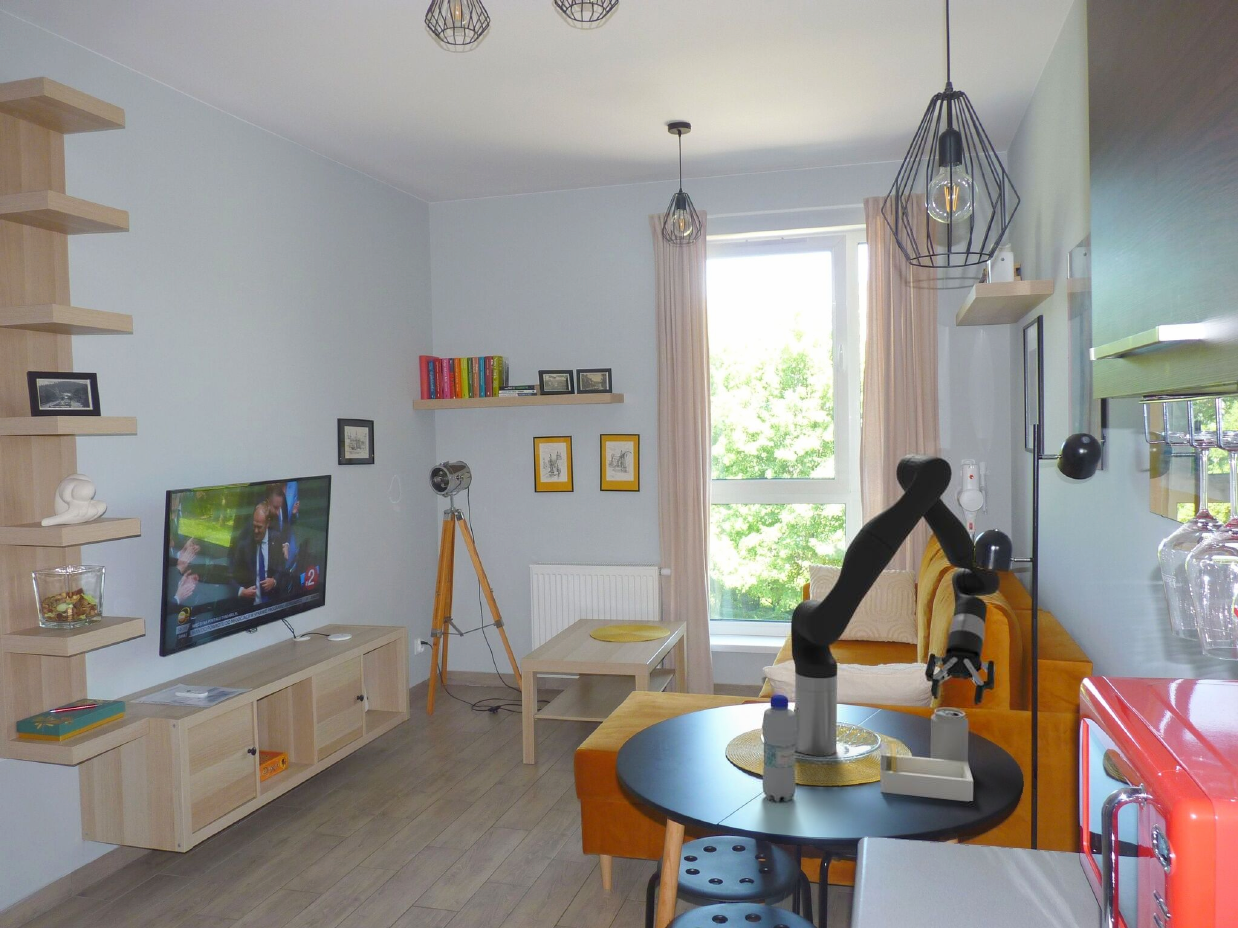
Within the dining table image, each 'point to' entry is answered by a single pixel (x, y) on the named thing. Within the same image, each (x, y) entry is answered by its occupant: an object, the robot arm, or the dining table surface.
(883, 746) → the white open box
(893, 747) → the pusher paddle
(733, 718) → the dining table surface
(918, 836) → the dining table surface
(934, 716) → the can
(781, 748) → the bottle
